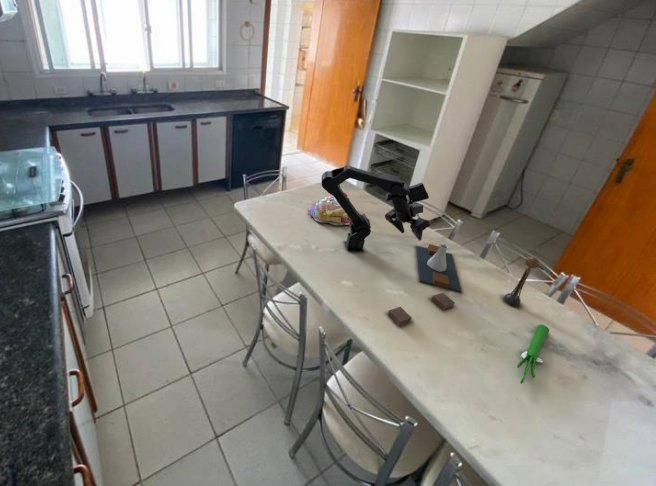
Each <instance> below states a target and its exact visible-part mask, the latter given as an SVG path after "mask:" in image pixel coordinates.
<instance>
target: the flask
mask: <svg viewBox="0 0 656 486" xmlns="http://www.w3.org/2000/svg"><path fill="white" fill-rule="evenodd" d="M438 246H439V247H440V248H439V250H438V251H437V252H436V253H435V255H434V256H433V257H431V258H430V259H429V260H428V263H427V265H428V266H430V267H431V268H432V269H434V270H437V271H439V272H441V271H446V267H447V265H446V253H447V250H448V249H449V246H448V245H446V243H445V244H444V243H439V245H438Z"/></svg>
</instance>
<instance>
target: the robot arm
mask: <svg viewBox="0 0 656 486" xmlns="http://www.w3.org/2000/svg"><path fill="white" fill-rule="evenodd" d="M349 179H352V180H356V181H359V182H362V183H365V184H367V185H368V184H369V185H372V186H376V187H378V188H380V189H381V190H383V191H384V192H386V194H385V195H384V199H385V201H386V202H390V201H391V204H392V206H393V207H392V209H390V210H389V211H388V212H386V213H385V215H384V218H385V220H386V221H388V223H390V224H391V225H392V226H393V227H394V228H395V229H397V230H398V231H399V232H400V233H401V234H404V233H405V227H404V224H405V223H408V224H410V225H409V228H410V231H411V232H412V234H413V235H414V237H415V238H416V239H417V240H418V241H421V240H422V239H423V231H424V230H426V229H427V228H429V227H430V226H431V224H430V221H429V220H428V219H425V218H422V217H418V218H417V219H415V217H417V215H418V214H423V213H424V204H421V203H418V202H422V201H424V200H428V199H430V197H429V193H428V191H427V189H426V187H425V184H424V183H423V182H419V183H416V184H413V185H410V186H408V184H407V183H406V182H404V181H402V180H401V178H400V177H399V176H397V175H393V174H378V173H374V172H372V171H368V170H365V169H362V168H358V167H354V166H351V165H349V164H347V165H344V166H342V167H338V168H334V169H332V170H327V171H324V172H323V173H322V175H321V188H323V189H324V190H325V191H326V193H328V194H330V196H332V197H333V198H335V199H336V200H337V201H338V203H339V204H340V206H341V207H342V208H343V210H344V211H345V212H346V214H347V215H348V217H349V218H350V219H351V221H352V223H350V224H349V225H348V226H349V232H348V233H347V237H346V241H344V245H345V247H346V249H347V252H360V253H361V252H364V249H363V248H364V246H365V241H366V238H367V237H369V236H370V235H371V232H372V231H371V228H372V226H371V222H370V218H368V217H367V215H366V213H362V214H361V213H359V212H358V210H357V209H356V207H355V206H354V204H353V203H352V202H351V201H350V200H349V199H350V198H349V197H348V198H349V199H348V198H347V196H348V195H347V196H346V195H345V193H346V192H345V191H343V190H342V187H341V184H343V183H344V182H345V181H347V180H349Z"/></svg>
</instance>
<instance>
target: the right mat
mask: <svg viewBox="0 0 656 486" xmlns="http://www.w3.org/2000/svg"><path fill="white" fill-rule="evenodd" d="M439 248H440V247H439V245H435V244H431V243H430V244H428V246H427V247H424V246H420V245H416V257H417V267H418V276H419V277H418V278H419V282H420V283H423V284H427V285H430V286H435V287H439V288H442V289H446V290H449V291H454V292H457V293H461V292H462V288H461V285H460V281H459V277H458V274H457V269H456V266H455V265H456V264H455V261H454V258H453V254H452V253H450V252H446V265H447V267H446V271H441V272H439V271H437V270H434V269H432V268H431V267H430V266H428V265H427V263H428V260H429V259H430V258H431V257H433V256H434V255H435V253H436V252H437V251H438V250H439Z"/></svg>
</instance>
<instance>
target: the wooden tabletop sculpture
mask: <svg viewBox="0 0 656 486" xmlns="http://www.w3.org/2000/svg"><path fill="white" fill-rule="evenodd" d="M524 263H525V265H526V266H527V267H525V270H524V272H523V273H522V275H521V278H520V279H519V281H518V282H517V284H516V286H515V287H514V288H513V290H512V291H511V292H510V293H507V294H505V295H504V296H503V302H504V303H506V304H507V305H509V306H511V307H514V308H518V307H520V304H521V293H522V290H523V287H524V285H525V283H526V281H527V279H528V277H529V275H530V274H531V272H532V269H540V270H542V271H544V270H545V269H546V267H545V266H544V265H541V264H540V263H541V262H540V260H539V259H538V258H537V257H535V256H528V257H526V258H525V260H524Z"/></svg>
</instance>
